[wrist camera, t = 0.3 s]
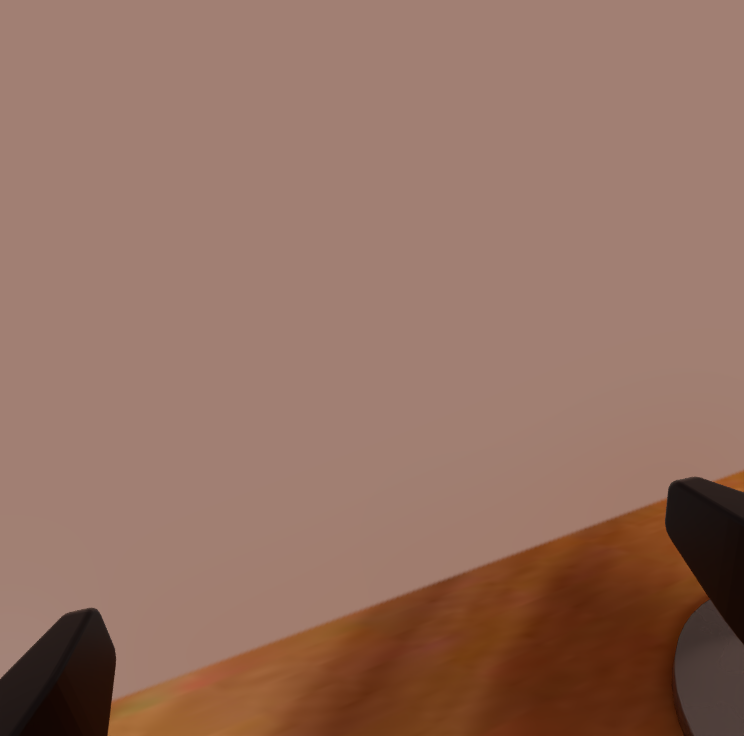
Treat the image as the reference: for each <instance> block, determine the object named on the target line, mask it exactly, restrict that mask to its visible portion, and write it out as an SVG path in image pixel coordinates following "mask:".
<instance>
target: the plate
mask: <svg viewBox="0 0 744 736" xmlns="http://www.w3.org/2000/svg"><path fill="white" fill-rule="evenodd" d="M672 690H673V698H674V705H675V708H676V712H677V715H678V719H679V723H680V725H681V728H682V730H683V733H684V735H685V736H744V645H743V643H742V642H741V641H740V640H739V638H738V637H737V636H736V635H735V633H734V632H733V631H732V629H731V628H730V627H729V626H728V624H727V623H726V622H725V620H724V619H723V617H722V616H721V615H720V613H719V612H718V610H717V609H716V607H715V606H714V604H713V603H712V601H711V600H708V601H707V602H705V603H704V604H702V605H701V606H700V607H699V608H698V609H697V610H696V611H695V612H694V613H693V614H692V615H691V616H690V618H689V619H688V621H687V622H686V623H685V625H684V627H683V629H682V632H681V634H680V636H679V639H678V644H677V649H676V653H675V658H674V663H673V668H672Z"/></svg>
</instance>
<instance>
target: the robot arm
mask: <svg viewBox="0 0 744 736" xmlns="http://www.w3.org/2000/svg"><path fill="white" fill-rule="evenodd" d="M665 525H666V530H667V533H668V535H669V537H670V539H671V540H672V542H673V543H674V545H675V546H676V548H677V550H678V551H679V553H680V554H681V556H682V557H683V559H684V560H685V562H686V563H687V565H688V566H689V568H690V569H691V571H692V572H693V574H694V575H695V577H696V579H697V580H698V582H699V583H700V585H701V586H702V588H703V589H704V591H705V592H706V594H707V595H708V597H709V598H710V600H711V601H712V603H713V604H714V606H715V607H716V609H717V610H718V612H719V613H720V615H721V616H722V617H723V619H724V620H725V622H726V623H727V624H728V626H729V627H730V628H731V629H732V631H733V632H734V633H735V635H736V636H737V637H738V638H739V640H740V641H741V642H742V643H743V645H744V492H741V491H738V490H735V489H732V488H729V487H726V486H723V485H720V484H717V483H715V482H712V481H709V480H706V479H703V478H700V477H690V478H685V479H680V480H676V481H674V482H672V483H671V484H670V486H669V489H668V497H667V507H666V517H665ZM115 667H116V654H115V648H114V645H113V643H112V640H111V638H110V636H109V633H108V631H107V628H106V626H105V624H104V621H103V619H102V616H101V614H100V613H99V611H98V610H97V609H95V608H87V609H82V610H77V611H73V612H69V613H67V614H65V615H63V616H62V617H61V618H60V619H59V620H58V621H57V622H56V623H55V624H54V625H53V626H52V627H51V628H50V629H49V630H48V631H47V632H46V633H45V634H44V635H43V636H42V637H41V638H40V639H39V640H38V641H37V642H36V643H35V644H34V645H33V646H32V647H31V648H30V649H29V650H28V651H27V652H26V653H25V654H24V655H23V656H22V657H21V658H20V659H19V660H18V661H17V662H16V664H14V665H13V667H11V668H10V670H9V671H8V672H7V673H6V674H5V675H4V676H3V677H2V678H1V679H0V736H108V727H109V718H110V710H111V701H112V693H113V683H114V675H115Z"/></svg>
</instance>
